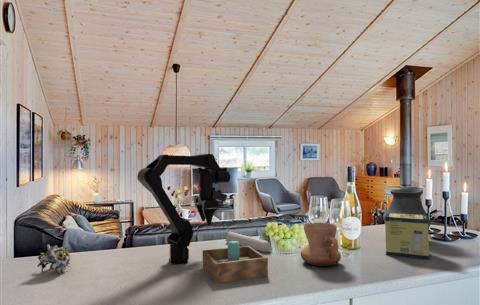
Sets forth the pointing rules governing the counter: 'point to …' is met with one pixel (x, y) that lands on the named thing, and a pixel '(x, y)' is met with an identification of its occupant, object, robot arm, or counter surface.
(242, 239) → the tube
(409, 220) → the protein box
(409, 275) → the counter surface
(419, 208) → the dark grey flared piece
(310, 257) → the ceramic jug
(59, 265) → the passion flower
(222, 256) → the box
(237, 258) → the peg
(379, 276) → the counter surface
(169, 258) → the robot arm
